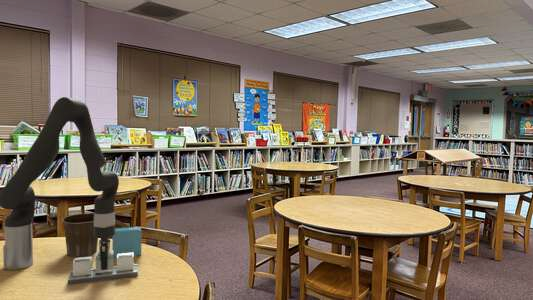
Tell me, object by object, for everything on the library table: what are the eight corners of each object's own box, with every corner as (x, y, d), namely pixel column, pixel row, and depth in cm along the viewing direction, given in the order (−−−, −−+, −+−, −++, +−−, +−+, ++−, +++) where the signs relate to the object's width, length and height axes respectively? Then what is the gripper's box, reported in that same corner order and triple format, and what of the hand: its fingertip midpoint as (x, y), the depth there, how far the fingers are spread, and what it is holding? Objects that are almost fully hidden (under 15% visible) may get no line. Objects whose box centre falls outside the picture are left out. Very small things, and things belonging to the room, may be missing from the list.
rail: (67, 284, 128) (67, 264, 128) (71, 275, 136) (70, 256, 135) (137, 276, 137) (137, 257, 136) (137, 268, 144) (137, 250, 144)
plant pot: (101, 256, 156) (101, 221, 155) (59, 261, 150) (58, 224, 148) (102, 245, 171) (102, 212, 170) (64, 248, 164) (64, 214, 163)
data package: (140, 251, 163) (141, 226, 162) (141, 255, 159) (141, 229, 158) (112, 254, 159) (112, 228, 158) (112, 258, 154) (112, 231, 154)
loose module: (95, 271, 133) (95, 255, 132) (96, 266, 137) (96, 251, 137) (113, 269, 135) (113, 253, 135) (113, 265, 139) (113, 249, 139)
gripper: (95, 219, 140) (95, 261, 141) (91, 229, 127) (92, 275, 128) (115, 218, 143) (115, 259, 144) (114, 227, 130) (114, 273, 131)
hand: (104, 266), depth 136 cm, fingers closed on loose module, 4 cm apart
